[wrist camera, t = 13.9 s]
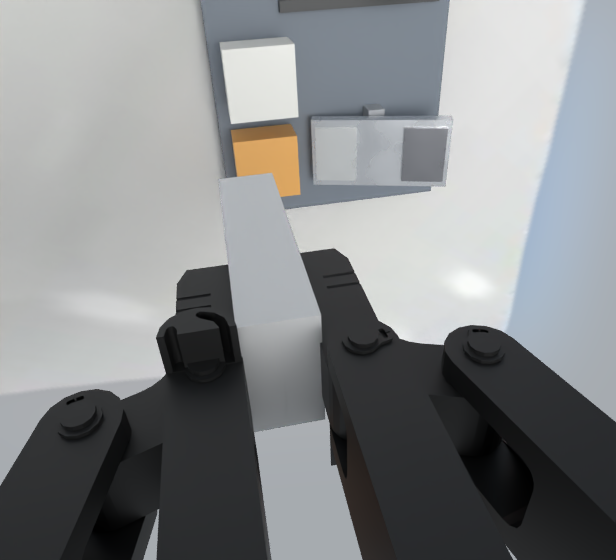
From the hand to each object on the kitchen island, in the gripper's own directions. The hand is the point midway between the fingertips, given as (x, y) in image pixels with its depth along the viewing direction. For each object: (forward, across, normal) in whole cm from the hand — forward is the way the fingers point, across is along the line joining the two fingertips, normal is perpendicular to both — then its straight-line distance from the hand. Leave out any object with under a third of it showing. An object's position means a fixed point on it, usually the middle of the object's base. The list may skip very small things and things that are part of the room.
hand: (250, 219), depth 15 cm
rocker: (+22, +11, -7) cm, 25 cm away
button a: (+24, +3, -7) cm, 25 cm away
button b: (+23, +2, -1) cm, 23 cm away
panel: (+26, +8, -2) cm, 28 cm away
